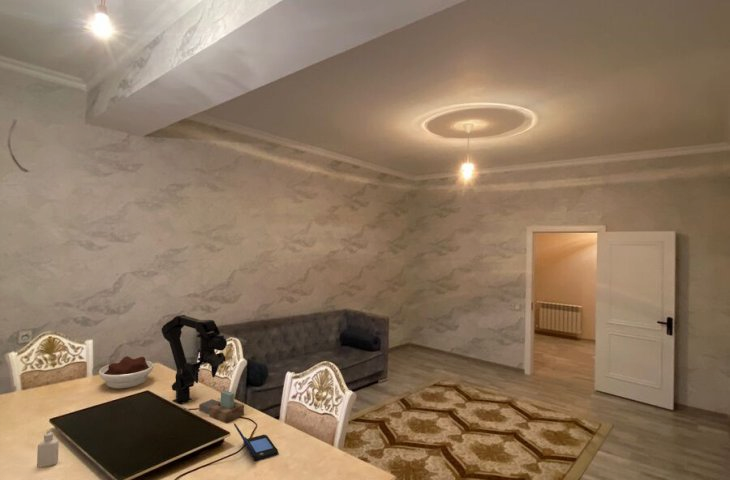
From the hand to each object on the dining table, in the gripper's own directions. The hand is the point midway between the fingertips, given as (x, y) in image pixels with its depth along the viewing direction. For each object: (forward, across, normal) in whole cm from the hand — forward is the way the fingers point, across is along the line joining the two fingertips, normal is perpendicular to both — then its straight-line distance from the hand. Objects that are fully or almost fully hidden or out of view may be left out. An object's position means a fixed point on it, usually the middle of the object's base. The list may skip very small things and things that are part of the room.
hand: (205, 380), depth 182 cm
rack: (+13, 0, -16) cm, 20 cm away
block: (+12, 0, -16) cm, 19 cm away
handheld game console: (+14, -13, -47) cm, 51 cm away
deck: (+13, 0, -5) cm, 14 cm away
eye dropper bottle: (+13, -59, +6) cm, 61 cm away
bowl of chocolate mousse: (+13, -5, +57) cm, 59 cm away
